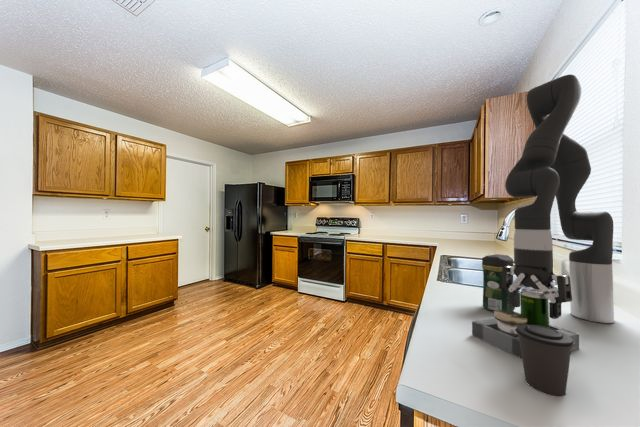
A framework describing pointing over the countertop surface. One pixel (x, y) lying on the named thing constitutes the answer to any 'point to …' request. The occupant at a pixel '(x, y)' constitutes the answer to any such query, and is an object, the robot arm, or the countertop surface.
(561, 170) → the robot arm
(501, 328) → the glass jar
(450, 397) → the countertop surface
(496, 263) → the coffee jar
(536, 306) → the green metal cylinder
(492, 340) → the grey rectangular frame
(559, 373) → the coffee cup
